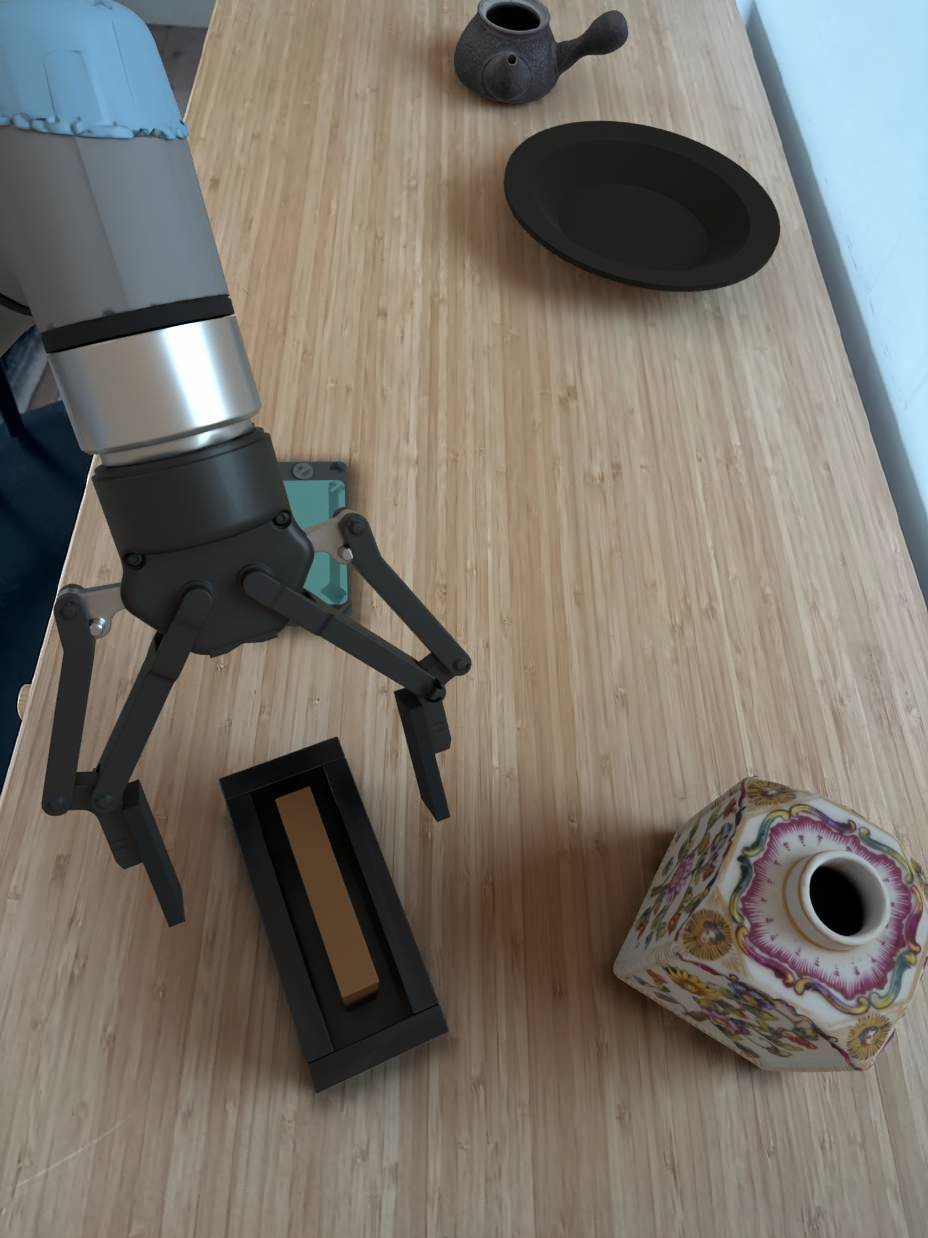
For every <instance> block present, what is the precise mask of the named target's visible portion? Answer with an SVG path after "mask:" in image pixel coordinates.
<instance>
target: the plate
mask: <svg viewBox="0 0 928 1238" xmlns="http://www.w3.org/2000/svg"><path fill="white" fill-rule="evenodd" d="M503 193H504V198H505V201H506V203H507V206H508V208H509V210H510V212H511V214H512V215H513V217H514V218H515V220H516V221H517V223H518V224H519V225H520V226H521V228H522V229H523V230H524V231H525V232H526V233H527V235H529V236H530V237H531V238H532V239H533V240H534V241H535V242H536V243H538V244H539V245H540V246H542V247H543V248H544V249H545V250H546V251H549V252H550V253H551V254H552V255H554V256H556V257H557V258H559V259H561V260H562V261H564V262H566V263H567V264H569V265H572V266H574V267H575V268H578V269H579V270H582V271H583V272H587V273H589V274H590V275H594V276H596V277H599V278H602V279H605V280H607V281H611V282H614V283H616V284H621V285H625V286H629V287H634V288H638V289H643V290H648V291H649V290H650V291H657V292H659V291H660V292H671V293H694V292H696V293H697V292H705V291H712V290H717V289H721V288H727V287H730V286H733V285H736V284H738V283H741V282H742V281H746V280H748V279H749V278H751V277H752V276H754V275H755V274H757V273H758V272H759V271H761V270H762V269H763V268H764V267H765V266H766V265H767V264H768V263H769V261H770V260H771V258H772V257H773V255H774V253H775V251H776V248H777V247H778V244H779V241H780V237H781V220H780V217H779V212H778V210H777V208H776V205H775V203H774V202H773V199H772V198H771V197H770V195H769V193H768V192H767V191H766V189H765V188H764V187H763V186H762V185H761V183H759V181H758V180H757V179H756V178H755V177H754V176H752V174H751V173H749V172H748V171H747V170H746V169H745V168H743V167H742V166H741V165H739V164H738V163H737V162H736V161H734V160H732V159H731V158H729V156H727V155H725V154H723V153H721V152H720V151H718V150H716V149H714V148H712V147H710V146H708V145H706V144H704V143H702V142H700V141H697V140H695V139H693V138H691V137H688V136H684V135H683V134H680V133H676V132H673V131H670V130H666V129H663V128H659V127H655V126H650V125H646V124H641V123H635V122H627V121H616V120H584V121H574V122H568V123H563V124H562V123H561V124H558V125H553V126H551V127H548V128H545V129H543V130H540V131H538V132H536V133H534V134H533V135H530V136H529V137H528V138H526V139H525V140H523V141H522V142H521V143H520V144H519V145H518V146H517V147H515V149H514V150H513V151H512V153H511V154H510V156H509V158H508V160H507V161H506V166H505V169H504V175H503Z"/></svg>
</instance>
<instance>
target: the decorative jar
mask: <svg viewBox="0 0 928 1238" xmlns="http://www.w3.org/2000/svg"><path fill="white" fill-rule="evenodd" d="M927 963H928V877H927V875H926V873H925V872H924V868H923V865H922V864H920V863H919V862H918V861H917V860H916V859H915V857H914V856H912V855H911V854H910V853H909V852H908V851H907V850H906V848H905V847H904V846H903V844H902V842H901V841H900V839H899V838H897V836H895V835H894V834H893V833H891V832H890V831H889V830H886V829H885V828H883V827H882V826H879V825H878V824H876V823H874V822H873V821H871V820H869V819H868V818H866V817H865V816H863V815H861V814H860V813H858V812H857V811H856V810H854V809H852V808H851V807H848V806H847V805H844V804H842V803H840V802H837V801H835V800H833V799H831V798H829V797H826V796H824V795H822V794H818V793H815V792H811V791H809V790H803V789H798V788H795V787H791V786H789V785H786V784H783V783H779V782H775V781H770V780H765V779H762V778H761V777H759V776H758V775H752V776H751V775H750V776H747V777H743V778H742V779H741V780H740V781H739V782H737V783H735V784H734V785H733V786H732V787H731V788H729V789H728V790H726V791H725V792H723V793H722V794H721V795H720V796H718V797H717V798H715V799H714V800H713V801H711V802H710V803H708V804H707V805H705V807H703V808H701V810H699V811H698V812H697V813H695V814H693V816H692V817H690V818H689V819H688V820H686V822H685V823H684V824H683V825H681V826H680V827H679V828H678V829H677V830H676V832H675V834H674V836H673V838H672V839H671V841H670V844H669V846H668V847H667V850H666V852H665V854H664V856H663V857H662V859H661V862H660V863H659V866H658V869H657V870H656V872H655V874H654V877H653V879H652V880H651V883H650V885H649V888H648V890H647V892H646V895H645V896H644V898H643V900H642V903H641V905H640V908H639V909H638V911H637V914H636V916H635V918H634V921H633V922H632V926H631V927H630V929H629V931H628V934H627V935H626V937H625V939H624V941H623V943H622V946H621V948H620V950H619V953H618V954H617V956H616V958H615V960H614V963H613V966H612V972H613V974H614V975H615V977H616V978H617V979H618V980H621V981H622V982H624V983H625V984H627V985H628V986H630V987H631V988H633V989H635V990H636V991H638V992H639V993H641V994H642V995H644V996H646V997H647V998H649V999H651V1000H652V1001H653V1002H655V1003H656V1004H658V1005H659V1006H661V1007H662V1008H664V1009H666V1010H668V1011H670V1012H672V1013H673V1014H674V1015H676V1016H677V1017H679V1018H680V1019H682V1020H683V1021H685V1022H686V1023H688V1024H689V1025H692V1027H695V1028H696V1029H697V1030H699V1031H701V1032H702V1033H704V1034H705V1035H708V1036H709V1037H710V1038H712V1039H713V1040H715V1041H716V1042H718V1043H720V1044H721V1045H723V1046H725V1047H726V1048H728V1049H730V1050H731V1051H733V1052H735V1053H736V1054H738V1055H739V1056H741V1057H742V1058H744V1059H745V1060H746V1061H749V1062H751V1063H752V1064H753V1065H755V1066H756V1067H758V1068H759V1069H761V1070H763V1071H766V1072H768V1071H769V1072H777V1073H778V1072H783V1073H832V1072H835V1073H836V1072H837V1073H838V1072H840V1073H841V1072H844V1073H845V1072H866V1071H868V1070H870V1069H871V1068H872V1067H873V1065H874V1063H875V1062H876V1059H877V1057H878V1056H879V1055H880V1054H881V1053H882V1052H883V1051H884V1049H885V1048H886V1047H887V1045H889V1044H890V1042H891V1040H892V1039H893V1038H894V1036H895V1031H896V1026H897V1025H898V1023H899V1021H900V1020H901V1019H902V1018H903V1017H904V1016H905V1015H906V1013H907V1011H908V1009H909V1007H910V1006H911V1004H912V1003H913V1001H914V998H915V995H916V991H917V990H918V989H917V988H918V987H919V985H920V983H921V981H922V979H923V975H924V972H925V968H926V966H927Z"/></svg>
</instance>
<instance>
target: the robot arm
mask: <svg viewBox="0 0 928 1238" xmlns="http://www.w3.org/2000/svg"><path fill="white" fill-rule="evenodd" d="M189 135H190V133H189V127H188V125H187V123H186V121H184V120H183V118H182V115H181V111H180V109H179V106H178V103H177V101H176V98H175V95H174V91H173V89H172V86H171V84H170V80H169V78H168V75H167V72H166V69H165V67H164V63H163V60H162V58H161V54H160V52H159V50H158V46H157V44H156V40H155V39H154V37H153V35H152V32H151V31H150V28H149V26H147V24H146V23H145V21H144V20H143V19H142V18H141V17H140V16H139V15H138V14H137V13H136V12H134V11H133V10H131V8H129V7H127V6H125V5H123V4H122V3H119V2H117V1H115V0H0V358H1V357H2V356H3V355H5V353H7V351H8V350H9V349H10V348H11V347H12V346H13V345H14V344H15V343H16V341H17V340H18V339H19V338H20V337H21V336H23V334H25V332H27V331H28V330H29V329H30V328H32V327H33V326H36V328H37V331H38V333H39V335H41V336H40V339H41V342H42V346H43V349H44V351H45V354H47V356H46V359H47V362H48V365H49V367H50V370H51V373H52V375H53V379H54V381H55V384H56V387H57V389H58V392H59V395H60V398H61V400H62V402H63V405H64V408H65V411H66V413H67V416H68V419H69V422H70V425H71V427H72V430H73V433H74V435H75V438H76V440H77V444H78V446H79V449H80V450H81V451H82V452H84V453H86V454H88V455H89V456H91V455H92V456H93V455H94V456H96V455H99V459H100V462H101V464H99V465H98V466H96V467H95V468H94V470H93V472H94V474H93V475H92V476H91V482H92V484H93V487H94V490H95V493H96V496H97V499H98V501H99V504H100V507H101V510H102V512H103V515H104V519H105V521H106V523H107V526H108V530H109V532H110V535H111V537H112V540H113V543H114V547H115V549H116V551H117V554H118V557H119V560H120V563H121V568H122V576H121V579H120V580H121V581H120V582H114V583H108V584H103V585H95V586H91V587H90V586H89V587H85V588H84V587H83V586H82V585H80V584H78V583H68V584H65V585H63V586H62V587H61V588H60V589H59V591H58V593H57V596H56V599H55V602H54V606H53V611H52V612H53V617H54V621H55V625H56V628H57V632H58V636H59V640H60V643H61V644H60V645H61V649H62V651H63V652H62V660H61V666H60V673H59V679H58V686H57V693H56V701H55V708H54V713H53V721H52V728H51V732H50V733H51V735H50V741H49V748H48V755H47V762H46V769H45V774H44V781H43V789H42V795H41V802H40V805H41V809H42V811H43V812H44V813H45V814H46V815H48V816H51V817H61V816H63V815H65V814H67V813H68V812H70V811H86V812H89V813H91V814H93V815H94V816H95V818H97V820H98V823H99V824H100V827H101V829H102V832H103V834H104V837H105V839H106V842H107V844H108V847H109V850H110V851H111V853H112V856H113V858H114V861H115V863H116V864H117V865H119V867H121V868H122V869H123V870H127V869H129V868H132V867H136V866H138V865H141V864H143V866H144V869H145V872H146V873H147V876H148V879H149V881H150V884H151V886H152V888H153V891H154V894H155V896H156V899H157V901H158V904H159V905H160V909H161V911H162V913H163V915H164V918H165V921H166V923H167V926H168V928H171V927H174V926H177V925H179V924H181V923H185V922H186V915H185V905H184V895H183V889H182V885H181V884H180V880H179V878H178V875H177V873H176V870H175V868H174V865H173V863H172V860H171V857H170V855H169V852H168V849H167V847H166V845H165V843H164V840H163V837H162V835H161V832H160V829H159V826H158V824H157V821H156V818H155V816H154V814H153V811H152V808H151V806H150V804H149V800H148V798H147V796H146V793H145V791H144V788H143V786H142V783H141V780H140V779H139V778H138V779H136V780H133V781H130V780H131V778H132V775H133V773H134V771H135V769H136V766H137V765H138V762H139V760H140V758H141V756H142V754H143V752H144V750H145V747H146V745H147V743H148V740H149V738H150V736H151V734H152V732H153V729H154V728H155V725H156V723H157V721H158V719H159V717H160V714H161V712H162V711H163V708H164V706H165V703H166V701H167V699H168V697H169V695H170V692H171V690H172V688H173V686H174V685H175V683H176V681H178V679H179V677H180V676H181V673H182V671H183V669H184V667H185V664H186V662H187V660H188V658H189V656H190V654H191V653H192V654H195V655H199V656H209V659H214V658H217V657H220V656H223V655H227V654H230V652H232V651H234V650H235V649H237V648H239V647H240V646H242V645H245V644H256V643H259V644H260V643H265V642H267V641H272V640H274V639H277V638H279V635H278V634H279V633H281V632H282V631H283V630H284V629H285V628H286V627H287V626H289V625H288V623H289V622H290V620H291V621H292V622H294V623H296V624H297V625H296V626H299V627H301V628H303V629H304V630H306V631H307V632H309V633H311V634H312V635H314V636H317V637H320V638H322V639H323V640H325V641H327V642H328V643H330V644H331V645H334V646H335V647H337V648H338V649H340V650H342V651H344V652H345V653H346V654H347V655H350V656H351V657H353V658H355V659H356V660H358V661H360V662H361V663H363V664H365V665H366V666H368V667H370V668H371V669H373V670H375V671H376V672H378V673H380V674H381V675H383V676H385V677H386V678H388V679H389V680H392V681H393V682H395V683H396V684H398V685H400V686H401V687H402V688H400V689H396V690H394V691H393V692H392V693H393V696H394V698H395V703H396V706H397V707H396V708H397V710H398V715H399V718H400V722H401V726H402V729H403V730H402V731H403V733H404V737H405V741H406V746H407V749H408V753H409V756H410V760H411V763H412V768H413V772H414V776H415V781H416V783H417V788H418V793H419V795H420V800H422V802H423V804H424V805H425V806H426V808H427V809H428V811H429V813H430V814H431V815H432V817H433V819H434V820H435V822H436V823H439V822H442V821H444V820H446V819H449V818H451V813H450V809H449V804H448V801H447V796H446V792H445V789H444V784H443V781H442V777H441V773H440V768H439V765H438V761H437V757H436V755H437V754H440V753H442V752H444V751H447V750H450V749H451V743H452V736H451V731H450V727H449V723H448V719H447V714H446V710H445V705H444V702H443V701H444V700H445V698H446V696H447V689H446V685H447V684H448V683H449V682H450V681H451V680H452V679H454V678H455V677H463V676H465V675H467V674H468V673H469V672H470V670H471V668H472V665H473V663H472V661H473V660H472V658H471V657H470V655H469V654H468V653H467V652H466V651H465V650H464V649H463V647H462V646H461V645H460V644H459V643H458V642H457V640H456V639H455V638H454V637H453V635H451V633H449V631H448V630H447V629H446V627H444V626H443V625H442V623H441V622H440V621H439V620H438V619H437V618H436V617H435V615H434V614H433V613H432V612H431V611H430V610H429V608H427V606H426V605H425V604H424V603H423V602H422V600H421V599H419V597H418V596H417V595H416V594H415V593H414V592H413V590H412V589H411V588H410V587H409V586H408V585H407V584H406V582H405V581H404V580H403V579H402V578H401V577H400V576H399V575H398V573H397V572H396V571H395V570H394V569H393V568H392V567H391V565H390V564H389V563H388V562H387V561H386V560H385V559H384V557H382V555H381V552H380V549H379V546H378V544H377V541H376V538H375V536H374V533H373V531H372V528H371V525H370V523H369V521H368V519H367V518H366V517H364V515H362V514H360V513H359V512H358V511H356V510H354V509H352V508H351V507H341V508H339V509H337V510H336V511H335V513H334V514H333V518H332V519H329V520H327V521H324V522H322V523H319V524H317V525H314V526H312V527H310V528H307V529H305V530H302V529H301V528H300V526H299V525H298V524H297V522H296V520H295V518H294V516H293V514H292V510H291V507H290V503H289V500H288V496H287V493H286V489H285V486H284V482H283V479H282V475H281V471H280V468H279V464H278V462H279V461H278V458H277V454H276V451H275V447H274V443H273V440H272V436H271V434H270V432H267V431H266V432H265V429H264V428H263V427H261V426H256V425H255V422H253V421H252V418H253V417H255V416H257V415H258V414H259V413H260V411H261V409H262V407H263V404H262V399H261V396H260V393H259V390H258V386H257V383H256V380H255V377H254V372H253V369H252V366H251V362H250V359H249V355H248V352H247V349H246V345H245V341H244V338H243V335H242V332H241V328H240V325H239V321H238V317H237V316H236V315H235V314H236V312H235V308H234V305H233V302H232V298H231V297H230V296H231V295H230V291H229V287H228V284H227V279H226V276H225V272H224V269H223V265H222V261H221V258H220V254H219V251H218V250H219V249H218V246H217V243H216V239H215V236H214V232H213V228H212V225H211V222H210V221H211V220H210V218H209V214H208V210H207V207H206V203H205V200H204V196H203V192H202V188H201V185H200V181H199V177H198V173H197V169H196V166H195V162H194V159H193V155H192V153H191V152H192V151H191V148H190V145H189V141H188V137H189ZM49 354H50V355H49ZM317 552H326V553H328V554H329V555H330V556H331V558H332V559H334V560H335V561H336V562H337V563H339V564H349V563H350V565H351V566H352V567H353V568H354V569H355V570H356V572H357V573H358V574H359V575H360V576H361V577H362V579H364V581H366V583H367V584H368V585H369V586H370V587H371V588H372V590H373V591H374V592H375V593H376V594H377V595H378V596H379V597H380V598H381V599H382V600H383V601H384V602H385V604H386V605H387V606H388V607H389V608H390V609H391V610H392V611H393V612H394V613H395V614H396V616H397V617H398V618H399V619H400V620H401V621H402V623H404V625H405V626H406V627H407V628H408V629H409V630H410V631H411V632H412V633H413V634H414V636H415V637H416V638H417V639H418V640H419V641H420V642H421V643H422V644H423V646H424V647H425V648H426V649H427V650H428V651H429V653H428V654H427V655H426V656H423V657H422V659H420V660H418V659H416V658H415V657H414V656H412V655H410V654H408V653H407V652H405V651H403V650H402V649H401V648H399V647H397V646H396V645H394V644H392V643H391V642H389V641H387V640H386V639H384V638H383V637H381V636H380V635H378V634H376V633H375V632H374V631H372V630H371V629H368V628H367V627H365V626H364V625H362V624H361V623H359V622H357V621H356V620H355V619H353V618H352V617H351V618H349V617H348V616H346V615H345V614H343V613H341V612H340V611H338V610H337V609H335V608H333V607H332V606H330V605H329V604H327V603H326V602H324V601H323V600H321V599H320V598H319V597H317V596H316V595H315V594H313V593H312V592H310V591H308V590H307V589H305V588H304V584H305V581H306V579H307V576H308V574H309V571H310V568H311V566H312V563H313V560H314V555H315V553H317ZM122 610H126V611H127V612H128V613H129V614H131V615H132V616H133V617H135V618H136V619H138V620H140V621H141V622H143V623H144V624H146V625H147V626H149V627H150V628H151V629H154V630H155V633H154V634H153V636H152V640H151V641H150V644H149V646H148V649H147V652H146V656H145V658H144V661H143V662H142V665H141V667H140V669H139V671H138V673H137V676H136V677H135V680H134V682H133V685H132V687H131V689H130V691H129V693H128V695H127V697H126V700H125V702H124V705H123V707H122V709H121V711H120V714H119V715H118V718H117V720H116V722H115V724H114V727H113V729H112V731H111V732H110V735H109V738H108V740H107V742H106V744H105V746H104V749H103V750H102V753H101V755H100V756H99V757H100V758H99V760H98V762H97V763H96V766H95V767H92V770H91V771H89V770H88V771H87V770H86V771H78V766H79V759H80V753H81V748H82V747H81V746H82V740H83V733H84V726H85V721H86V714H87V707H88V702H89V701H88V700H89V694H90V689H91V688H90V687H91V682H92V676H93V670H94V662H95V655H96V654H95V653H96V646H97V640H98V639H103V638H105V637H106V636H108V635H109V634H110V632H111V630H112V624H113V623H112V622H113V619H114V616H115V615H116V614H117V613H119V612H120V611H122Z"/></svg>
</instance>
